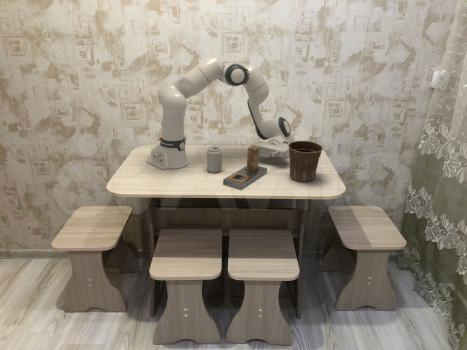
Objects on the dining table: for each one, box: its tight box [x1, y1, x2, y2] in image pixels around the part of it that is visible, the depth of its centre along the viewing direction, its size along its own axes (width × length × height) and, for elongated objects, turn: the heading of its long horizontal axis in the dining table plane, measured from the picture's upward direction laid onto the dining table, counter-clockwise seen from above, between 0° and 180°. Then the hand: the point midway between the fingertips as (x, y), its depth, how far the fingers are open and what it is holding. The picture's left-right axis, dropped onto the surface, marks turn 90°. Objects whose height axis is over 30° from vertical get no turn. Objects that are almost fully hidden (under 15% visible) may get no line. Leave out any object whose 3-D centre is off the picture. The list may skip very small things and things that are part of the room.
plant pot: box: [288, 140, 324, 183], centre depth 189 cm, size 16×16×16 cm
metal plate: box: [222, 165, 268, 191], centre depth 190 cm, size 10×24×3 cm, turn 147°
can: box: [206, 145, 223, 174], centre depth 196 cm, size 8×8×12 cm
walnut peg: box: [246, 145, 260, 173], centre depth 192 cm, size 4×4×14 cm
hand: (262, 153), depth 200 cm, fingers open, 8 cm apart
